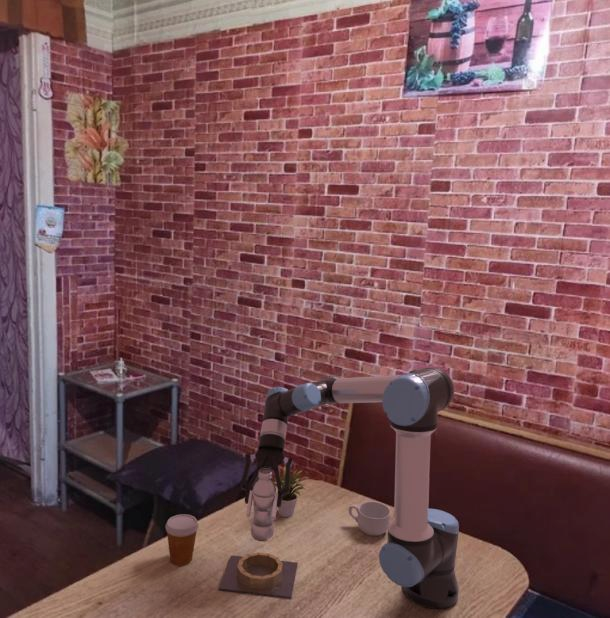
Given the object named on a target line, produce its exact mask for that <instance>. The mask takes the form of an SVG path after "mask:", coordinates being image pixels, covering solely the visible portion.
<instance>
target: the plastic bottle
mask: <svg viewBox="0 0 610 618" xmlns="http://www.w3.org/2000/svg"><path fill="white" fill-rule="evenodd" d="M272 479H273V470H270V469H266V468H263V469H260V470H259V474H258V480H257V481H256V482H255V484H254V485H253V488H252V492H253V501H252V507H253V512H252V519H251V520H252V521H251V524H250V530H249V531H250V535H251V537H252V539H253V540H255V541H256V542H257V541H258V542H268V541H270V540H271V539H273V536H274V533H275V523H274V520H273V519H272V513H273V506H274V499H275V493H277V487H276V486H275V485H274V483H275V482H274V481H273V480H272Z"/></svg>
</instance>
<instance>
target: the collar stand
mask: <svg viewBox="0 0 610 618" xmlns="http://www.w3.org/2000/svg"><path fill="white" fill-rule="evenodd" d="M298 565H299V563H298V561H297V562H295V561H287V560H281V559H280V558H279V557H277V556H275V555H273V554H271V553H267V552H254V553H247V554H246V555H244V556H241V555H240V556H239V555H234V554H233V555H230V557H229V560H228V562H227V565H226V566H225V570H224V573H223V575H222V578H221V580H220V583H219V586H218V587H217V591H220V592H229V593H238V594H246V595H247V594H248V595H257V596H265V597H274V598H282V599H283V598H284V599H289V600H291V599H292V597H293V592H294V586H295V580H296V576H297V570H298Z"/></svg>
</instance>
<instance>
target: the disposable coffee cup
mask: <svg viewBox="0 0 610 618" xmlns="http://www.w3.org/2000/svg"><path fill="white" fill-rule="evenodd" d="M199 526H200V524H199V522H198V520H197V518H196V517H195V516H194V515H191V514H176V515H174V516H171V517H169V519H168V520H167V522H166V523H165V526H164V527H165V528H164V529H165V531H166V533H167V542H168V544H167V545H168V553H169V562H170V563H171V565H173V566H178V567H179V566H180V567H182V566H186V565H188V564H190V563H191V562H192V561H193V555H194V548H195V543H196V537H197V531H198V530H199Z"/></svg>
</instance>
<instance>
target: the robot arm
mask: <svg viewBox="0 0 610 618" xmlns="http://www.w3.org/2000/svg"><path fill="white" fill-rule="evenodd" d="M454 395H455V385H454V382H453V379H452V378H451V377H450V375H449V373H447V372H446V371H444V370H443V369H440V368H439V367H425V368H422V369H415V370H413V369H411V370H409V371H408V372H407V373H403V374H392V375H378V376H377V375H375V376H374V375H373V376H372V375H371V376H359V377H358V376H357V377H343V378H339V377H337V376H336V377H335V376H334V377H327V378H324V379H321V380H318V381H314V382H305V383H302V384H299V385H297V386H295V387H293V388H291V389H287V388H286V387H282V386H281V387H280V386H277V387H272V388H270V389H268V391H267V395H266V399H265V401H264V402H265V404H264V410H263V416H262V423H261V427H260V437H259V440H258V441H259V443H258V447H257V451H256V452H255V453H254V454H250V453H246V455H245V458H246V463H245V466H244V471H243V474H242V478H241V481H240V489H241V491H245V495H244V503H245V504H246V506H247V507H246V511H245V512H246V513H245V515H246V518H251V513H252V507H253V492H252V488H253V485H254V484H255V482H256V481H257V480H258V479H259V478H258V474H259V470H260V469H263V468H266V469H270V470H272V471H273V472H274V477H275V479H276V480H275V481H276V482H275V483H276V484H277V487H276V489H277V491H278V492H276V493H275V499H274V505H273V513H272V519H273V521H276V520H277V519H276V517H277V512H278V510H277V509H278V507H281V504H282V497H283V495H286V494H287V495H288V494H289V493H290V478H291V469H292V466H293V464H294V461H293V458H292V457H286V456H285V455H284V452H285V447H286V437H287V430H288V422H289V418H290V417H293V416H296V415H298V414H302V413H304V412H307V411H311V410H314V409H316V408H319V407H320V408H321V407H323V406H326V405H330V404H331V405H332V404H335V405H336V404H357V403H358V404H362V403H369V404H370V403H381V404H382V408H383V411H384V413H385V414H386V417H387V418H388V419H389V422H390V423H389V425H390V428H391V429H393V430H394V432H395V460H394V461H395V462H394V463H395V464H394V465H395V468H394V469H395V470H394V507H393V511H394V512H393V513H394V514H393V520H392V521H391V522H389V525H388V529H387V542H386V543H385V544H383V545H382V546H381V549H380V550H379V554H378V561H379V565H380V569H381V570H382V571H383V572H384V574H385V575H386V576H387V578H388V579H389V580H390V581H391V582H392V583H394V584H395V585H397V586H400V587H402V589H403V592H404V594H405V595H406V597H408V598H409V599H410V600H411V601H412V602H414V603H415V604H416V605H417V604H418V605H420V606H422V607H424V608H429V609H434V610H435V609H438V610H439V609H442V610H443V609H447V608H450V607H452V606H454V605H455V604H456V603H457V601H458V600H459V589H460V588H459V585H458V579H457V576H456V570H455V567H456V566H455V565H456V558H457V549H458V541H459V534H460V531H459V530H460V529H459V528H460V525H459V521H458V520H457V518H456V517H455V516H454V515H452V514H451V513H449V512H447V511H444V510H441V509H436V508H429V501H430V499H429V497H430V496H429V495H430V471H431V470H430V468H431V467H430V465H431V464H430V463H431V441H432V439H431V437H432V434H433V433H434V432H435V431H436V430H437V429H438V415H439V414H438V413H439V412H441V411H444V410H445V409H446V408H448V406H449V405H450V404H451V402H452V401H453V398H454ZM255 459H256V461H257V466H256V468H255V469H254V472H253V474H252V476H251V478H250V480H249V476H250V473H251V469H252V464H253V463H254V461H255ZM282 463H284V466H285V467H286V476H285V489H282V485H281V481H280V477H281V475H280V472H279V466H280V465H282ZM248 480H249V481H248Z"/></svg>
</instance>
